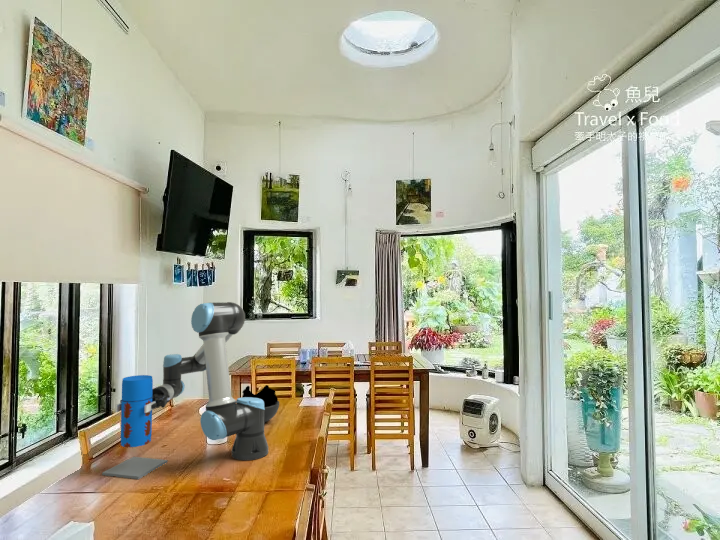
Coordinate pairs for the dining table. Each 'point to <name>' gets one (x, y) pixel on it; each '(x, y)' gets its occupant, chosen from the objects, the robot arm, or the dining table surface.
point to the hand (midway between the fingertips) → (130, 409)
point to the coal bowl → (265, 400)
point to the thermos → (136, 410)
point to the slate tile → (134, 467)
